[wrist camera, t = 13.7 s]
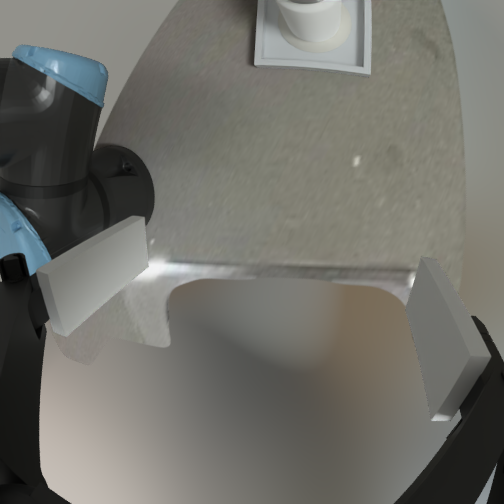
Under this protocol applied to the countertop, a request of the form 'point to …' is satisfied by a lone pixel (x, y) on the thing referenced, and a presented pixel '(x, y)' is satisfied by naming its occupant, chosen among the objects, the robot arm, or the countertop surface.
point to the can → (312, 18)
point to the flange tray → (315, 53)
